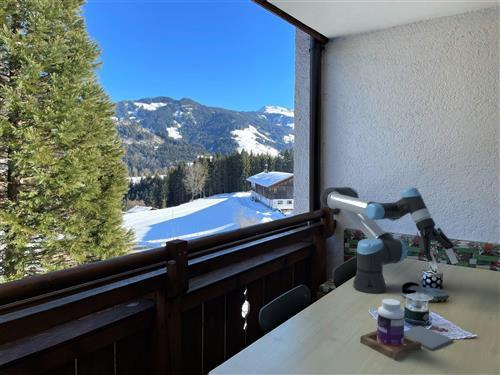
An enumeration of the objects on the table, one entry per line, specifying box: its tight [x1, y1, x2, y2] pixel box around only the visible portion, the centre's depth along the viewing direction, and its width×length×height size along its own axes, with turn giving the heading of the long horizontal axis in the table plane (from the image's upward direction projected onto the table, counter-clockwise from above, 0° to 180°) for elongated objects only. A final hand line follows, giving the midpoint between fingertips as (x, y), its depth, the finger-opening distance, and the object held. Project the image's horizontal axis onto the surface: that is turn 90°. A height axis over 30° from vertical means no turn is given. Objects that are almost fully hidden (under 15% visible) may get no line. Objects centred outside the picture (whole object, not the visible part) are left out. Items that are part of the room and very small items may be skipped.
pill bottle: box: [376, 298, 405, 350], centre depth 114 cm, size 8×8×14 cm
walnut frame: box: [359, 330, 422, 361], centre depth 115 cm, size 13×13×2 cm
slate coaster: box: [404, 325, 454, 352], centre depth 119 cm, size 12×12×1 cm
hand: (445, 266), depth 152 cm, fingers open, 13 cm apart
